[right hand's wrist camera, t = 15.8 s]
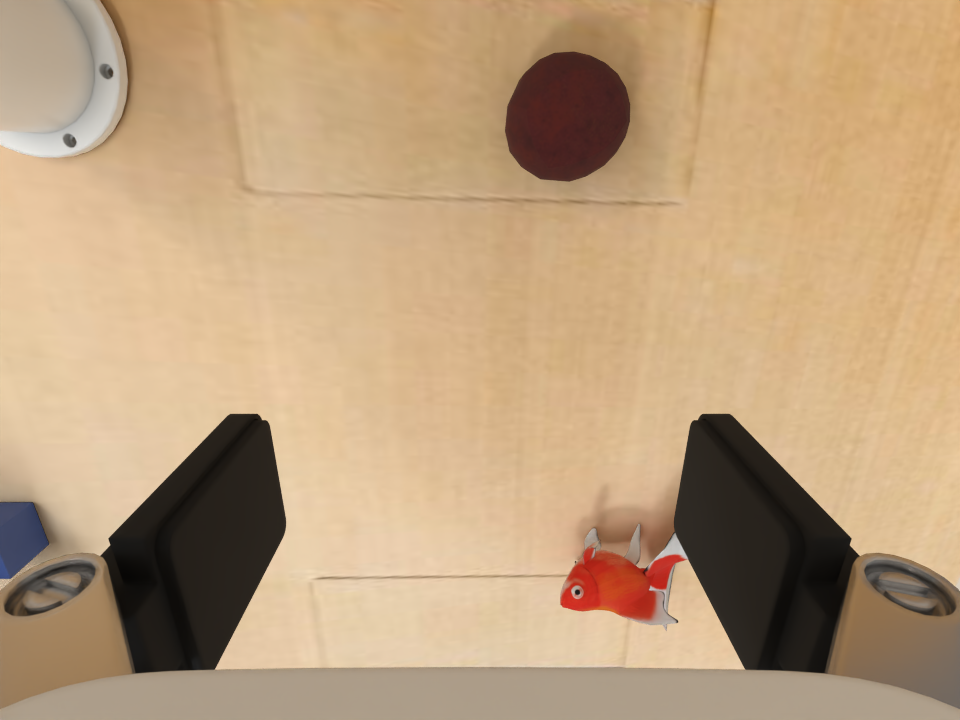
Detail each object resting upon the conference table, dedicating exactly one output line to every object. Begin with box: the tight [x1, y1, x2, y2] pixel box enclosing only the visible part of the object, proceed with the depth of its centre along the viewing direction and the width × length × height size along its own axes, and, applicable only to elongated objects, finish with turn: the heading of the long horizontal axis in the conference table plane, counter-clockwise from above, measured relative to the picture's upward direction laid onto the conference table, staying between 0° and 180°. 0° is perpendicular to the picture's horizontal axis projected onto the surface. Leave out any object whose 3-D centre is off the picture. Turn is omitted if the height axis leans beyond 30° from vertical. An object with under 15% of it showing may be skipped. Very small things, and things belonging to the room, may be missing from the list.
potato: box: [505, 52, 630, 181], centre depth 32 cm, size 7×8×7 cm
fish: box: [560, 524, 688, 631], centre depth 45 cm, size 11×16×10 cm
